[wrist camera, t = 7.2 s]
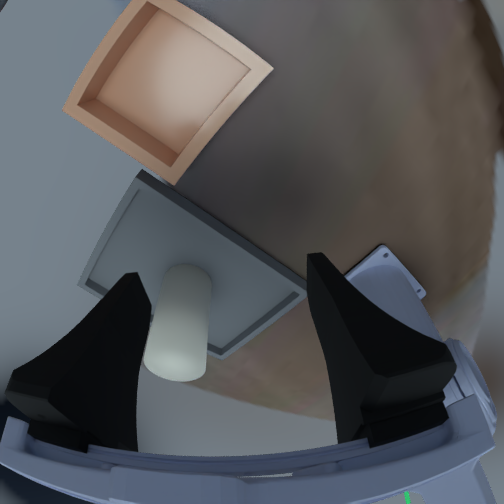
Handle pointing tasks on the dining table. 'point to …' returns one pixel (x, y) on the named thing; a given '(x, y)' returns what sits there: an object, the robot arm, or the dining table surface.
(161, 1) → the shallow square box
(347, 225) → the dining table surface
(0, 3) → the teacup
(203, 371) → the peg
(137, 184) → the tray
